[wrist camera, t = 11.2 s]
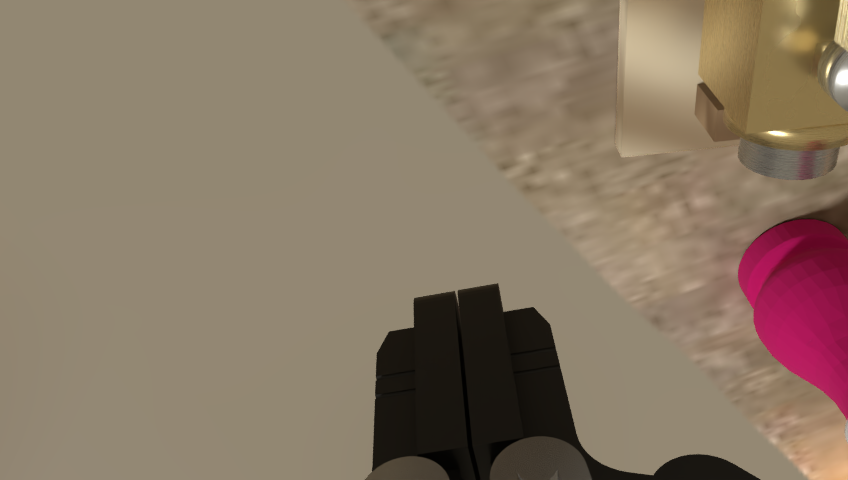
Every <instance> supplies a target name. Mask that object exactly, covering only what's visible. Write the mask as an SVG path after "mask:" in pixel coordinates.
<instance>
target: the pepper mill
mask: <svg viewBox="0 0 848 480" xmlns="http://www.w3.org/2000/svg"><path fill="white" fill-rule="evenodd" d="M738 279H739V284H740V287H741V289H742V291H743V292H744V294H745V296H746V297H747V299H748V301H749V302H750V304H751V306H752V307H753V309H754V325H755V328H756V332H757V334H758V336H759V338H760V340H761V341H762V342H763V344H764V345H765V346H766V348H767V349H768V350H769V352H770V353H771V354H772V356H773V357H774V358H776V359H777V360H778V361H779V362H780V363H781V364H782V365H784V366H785V367H786V368H787V369H788V370H789V371H791V372H793V373H794V374H796V375H798V376H799V377H801V378H803V379H804V380H806V381H808V382H809V383H811V384H813V385H814V386H816V387H817V388H819V389H820V390H822V391H823V392H824V393H825V394H826V395H828V396H829V397H830V398H831V399H832V400H833V401H834V402H835V403H836V404H837V406H838V407H839V409H840V410H841V411H842V413H843V414H844V416H845V417H846V420H847V422H846V425H845V438H846V441H847V443H848V240H847V239H846V237H845V236H844V235H843V234H842V233H841V231H839V230H838V229H837V228H836V227H835V226H833V225H831V224H829V223H827V222H823V221H819V220H815V219H798V220H794V221H790V222H785V223H783V224H780V225H778V226H776V227H774V228H771V229H769V230H768V231H766V232H765V233H764V234H762V235H761V236H760V237H758V238H757V239H756V240H755V241H754V242H753V243H752V244H751V245H750V247H749V248H748V249H747V250H746V251H745V253H744V256H743V258H742V260H741V262H740V265H739V270H738Z"/></svg>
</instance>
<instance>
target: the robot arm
mask: <svg viewBox="0 0 848 480" xmlns="http://www.w3.org/2000/svg"><path fill="white" fill-rule="evenodd" d="M458 301H459V306H458V302H457V297H456V294H455V291H453V292H446V293H441V294H435V295H429V296H423V297H418V298H414V328H408V329H402V330H396V331H390V332H389V333H388V335H387V336H386V338H385V340H384V342H383V344H382V345H381V347H380V349H379V351H378V352H377V362H376V379H377V381H376V389H375V396H376V399H375V416H374V444H373V445H374V446H373V467H372V472H371V473H370V474H369V475H368V477H367V478H366V479H365V480H760V479H759V478H757V477H755V476H753V475H752V474H750V473H748V472H747V471H745V470H743V469H741V468H740V467H738V466H736V465H735V464H733V463H730V462H728V461H727V460H724V459H721V458H718V457H714V456H710V455H700V454H698V455H697V454H696V455H686V456H681V457H678V458H675V459H672V460H670V461H669V462H667V463H665V464H664V465H663V466H661V467H660V468H659V469H658V470H657V471H656V472H655V474H654V475H645V474H637V473H629V472H624V471H619V470H616V469H613V468H610V467H607V466H605V465H603V464H601V463H599V462H598V461H596V460H595V459H593V458H592V457H591V456H590V455H589V454H588V453H587V452H586V451H585V450H584V449H583V447H582V446H581V444H580V442H579V440H578V437H577V434H576V430H575V426H574V422H573V418H572V414H571V409H570V405H569V401H568V397H567V393H566V389H565V385H564V380H563V376H562V372H561V369H560V364H559V360H558V356H557V352H556V348H555V343H554V339H553V335H552V331H551V327H550V324H549V323H548V322H547V321H546V320H545V319H544V318H543V317H542V316H541V315H540V314H539V313H538V312H537V310H536V309H535V308H534V307H531V308H525V309H519V310H513V311H507V312H503V307H502V302H501V296H500V291H499V286H498V283H497V284H492V285H486V286H480V287H474V288H469V289H463V290H458Z"/></svg>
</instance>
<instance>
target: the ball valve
mask: <svg viewBox="0 0 848 480" xmlns="http://www.w3.org/2000/svg"><path fill="white" fill-rule="evenodd" d="M839 5H840V0H705V4H704V15H703V26H702V36H701V47H700V58H699V69H698V75H699V76H700V77H701V79H702V80H703V81H704V82H705V84H706V85H707V86H708V87H709V89H710V90H711V91H712V92H713V94H714V95H715V96H716V97H717V99H718V100H719V101H720V102H721V104H722V105H723V106H724V113H723V120H724V123H725V125H726V127H727V128H728V129H729V130H730V131H731V132H733V133H734V134H736V135H737V136H739V137H740V141H739V148H738V158H739V160H740V162H741V163H742V164H743V165H744V166H746V167H747V168H748V169H750V170H752V171H754V172H756V173H759V174H761V175H764V176H768V177H772V178H778V179H786V180H804V179H812V178H816V177H820V176H823V175H825V174H827V173H829V172H830V171H832V170H833V169H834V167H835V166H836V163H837V158H838V153H839V149H840V147H841V146H844V145H847V144H848V112H847V111H846V110H844V109H843V108H842V107H841V106H840V105H838V104H837V103H836V102H835V101H834V100H833V99H832V98H831V97H830V96H829V95H828V94H827V93H825V92H824V90H823V89H822V88H821V86H820V84H819V82H818V78H817V68H818V63H819V60H820V58H821V56H822V54H823V52H824V50H825V49H826V48H827V46H828V45H829V44H830V43H831V42H832V41H833V40H834V38H835V31H836V25H837V18H838V11H839Z"/></svg>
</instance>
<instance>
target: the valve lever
mask: <svg viewBox="0 0 848 480" xmlns="http://www.w3.org/2000/svg"><path fill="white" fill-rule="evenodd" d="M817 78H818V82H819V84H820V86H821V88H822V89H823V90H824V92H825V93H827V94H828V95H829V96H830V97H831V98H832V99H833V100H834V101H835V102H836V103H837V104H838V105H840V106H841V107H842V108H843V109H844V110H846V111H847V112H848V0H840V5H839V11H838V18H837V25H836V31H835V38H834V40H833V41H832V42H831V43H830V44H829V45H828V46H827V48H826V49H825V50H824V52H823V54H822V56H821V58H820V60H819V63H818V68H817Z"/></svg>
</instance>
